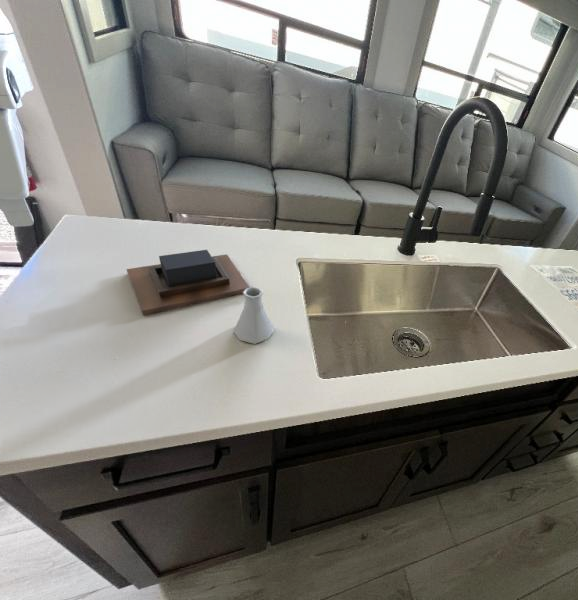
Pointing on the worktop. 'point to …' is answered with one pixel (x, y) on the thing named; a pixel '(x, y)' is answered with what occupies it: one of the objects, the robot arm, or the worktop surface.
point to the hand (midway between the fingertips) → (21, 204)
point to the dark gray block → (188, 267)
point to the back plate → (184, 287)
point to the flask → (253, 318)
